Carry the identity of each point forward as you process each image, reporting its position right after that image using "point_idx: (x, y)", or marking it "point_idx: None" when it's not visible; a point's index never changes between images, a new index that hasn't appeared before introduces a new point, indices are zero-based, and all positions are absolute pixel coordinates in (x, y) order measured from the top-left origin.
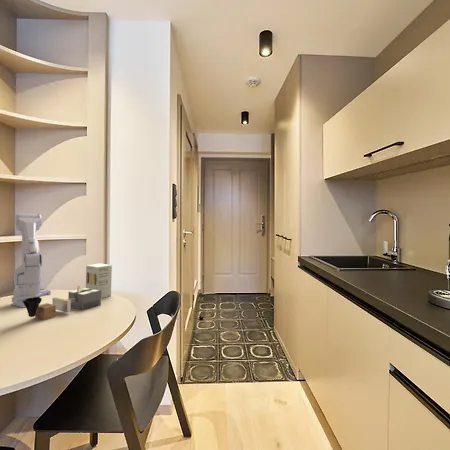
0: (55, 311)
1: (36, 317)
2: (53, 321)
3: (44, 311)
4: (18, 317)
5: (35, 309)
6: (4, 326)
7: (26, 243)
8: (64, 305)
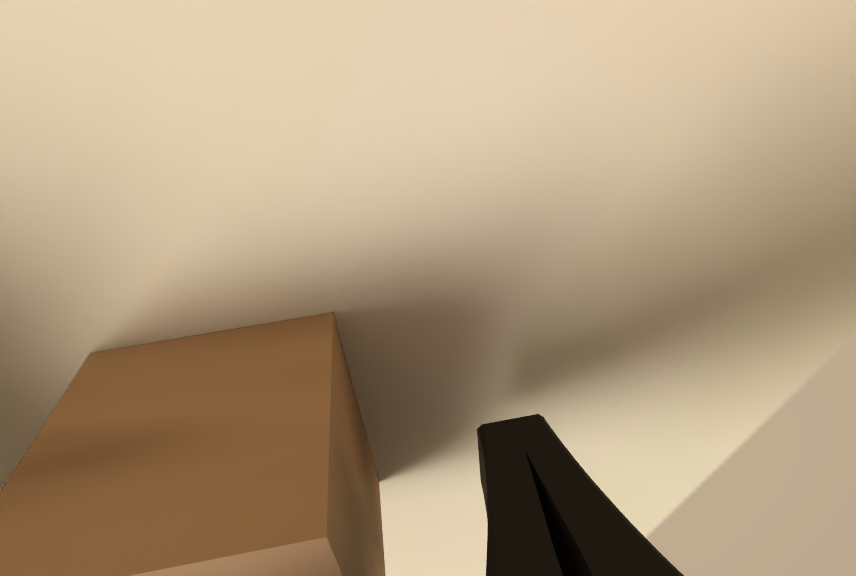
0: (37, 443)
1: (373, 469)
2: (215, 88)
3: (324, 451)
4: None
5: (532, 550)
6: (791, 395)
7: None
8: None
